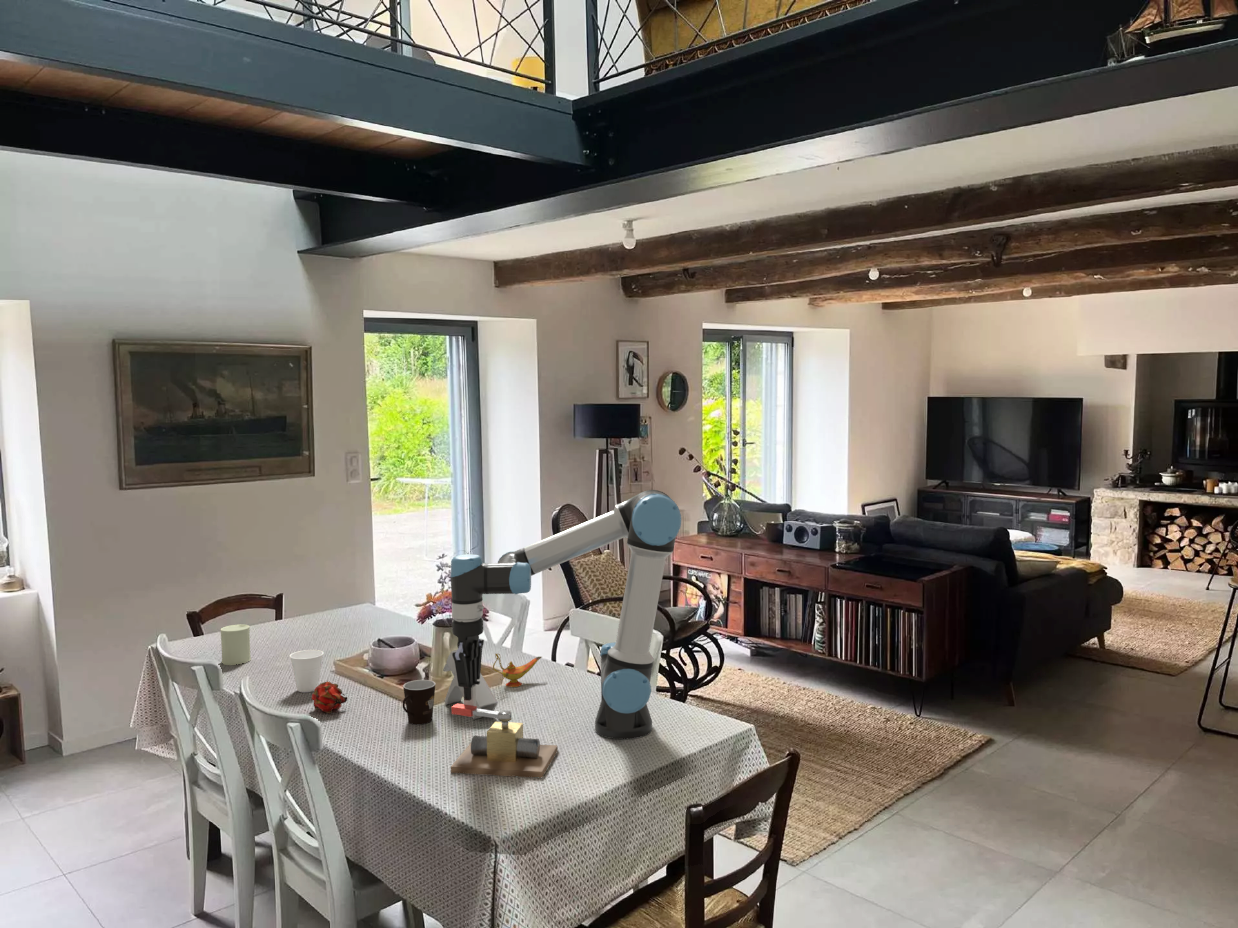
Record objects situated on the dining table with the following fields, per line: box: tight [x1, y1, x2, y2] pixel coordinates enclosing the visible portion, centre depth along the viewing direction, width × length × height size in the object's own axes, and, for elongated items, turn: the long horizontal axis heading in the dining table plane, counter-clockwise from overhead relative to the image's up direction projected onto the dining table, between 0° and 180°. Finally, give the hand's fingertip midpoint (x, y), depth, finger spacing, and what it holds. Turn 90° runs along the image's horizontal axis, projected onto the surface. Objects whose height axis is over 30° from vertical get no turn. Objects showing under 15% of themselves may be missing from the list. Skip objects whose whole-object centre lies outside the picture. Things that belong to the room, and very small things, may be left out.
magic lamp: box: [492, 653, 543, 688], centre depth 280 cm, size 7×18×11 cm, turn 130°
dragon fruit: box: [310, 681, 348, 714], centre depth 258 cm, size 8×8×12 cm
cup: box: [288, 649, 325, 693], centre depth 276 cm, size 10×10×11 cm
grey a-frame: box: [442, 649, 499, 720], centre depth 258 cm, size 6×16×20 cm
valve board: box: [450, 742, 558, 779], centre depth 220 cm, size 22×16×2 cm
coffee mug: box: [402, 679, 437, 726], centre depth 248 cm, size 12×9×10 cm
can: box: [219, 623, 252, 666], centre depth 307 cm, size 9×9×12 cm
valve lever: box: [451, 702, 513, 722], centre depth 222 cm, size 16×3×2 cm, turn 67°
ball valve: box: [470, 721, 541, 762], centre depth 220 cm, size 16×7×9 cm, turn 81°
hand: (470, 711), depth 226 cm, fingers closed
